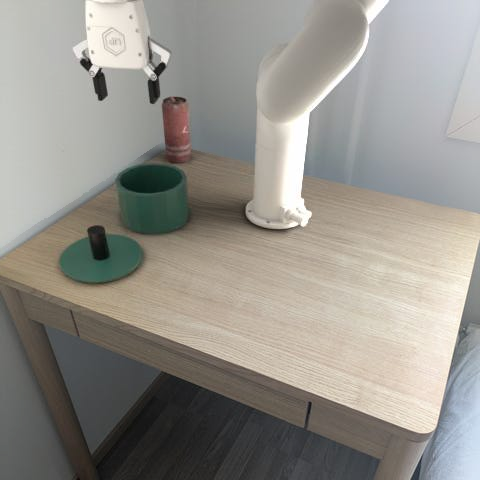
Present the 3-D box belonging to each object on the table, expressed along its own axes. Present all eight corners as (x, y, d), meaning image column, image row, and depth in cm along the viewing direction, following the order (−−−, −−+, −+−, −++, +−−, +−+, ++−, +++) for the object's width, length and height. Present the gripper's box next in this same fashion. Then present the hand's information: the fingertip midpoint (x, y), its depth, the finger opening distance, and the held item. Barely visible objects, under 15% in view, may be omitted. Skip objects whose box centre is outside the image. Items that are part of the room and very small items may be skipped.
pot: (201, 219, 101) (200, 180, 96) (145, 242, 95) (140, 202, 89) (164, 194, 109) (160, 157, 103) (109, 214, 102) (102, 175, 96)
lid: (158, 263, 89) (154, 232, 85) (84, 296, 82) (76, 264, 78) (117, 230, 98) (111, 200, 93) (47, 257, 90) (37, 226, 86)
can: (181, 150, 126) (177, 93, 116) (195, 159, 122) (193, 100, 113) (161, 157, 123) (155, 98, 113) (175, 165, 119) (171, 106, 110)
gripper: (51, -10, 76) (75, 104, 88) (159, -6, 74) (169, 110, 86) (70, -18, 82) (91, 90, 93) (172, -14, 80) (179, 96, 91)
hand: (128, 100), depth 90 cm, fingers open, 9 cm apart
